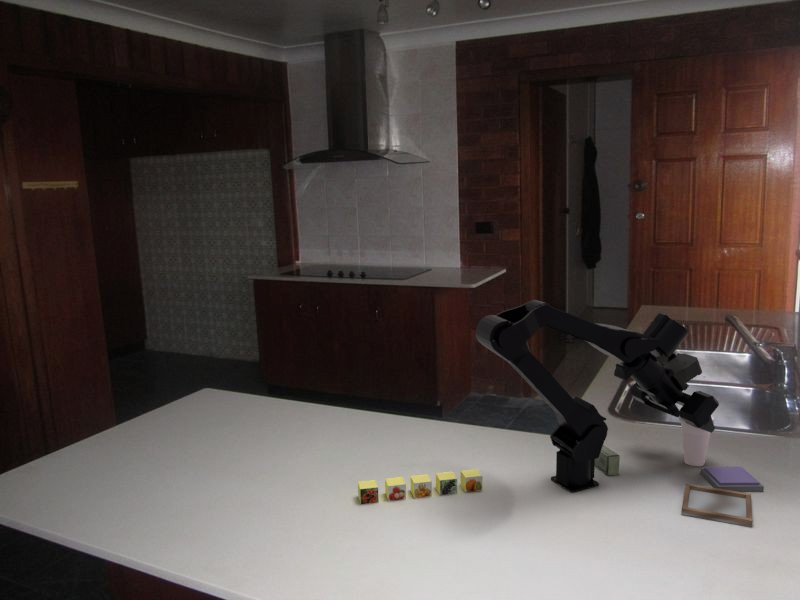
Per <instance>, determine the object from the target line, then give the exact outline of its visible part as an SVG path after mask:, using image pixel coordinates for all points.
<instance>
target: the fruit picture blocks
mask: <svg viewBox="0 0 800 600" xmlns="http://www.w3.org/2000/svg"><path fill="white" fill-rule="evenodd" d="M409 477H410V481H409V482H410V492H411V494H412V496H413V498H414V499H421V498H431V497H432V496H433V488H432V487H433V486H432V485H433V484H432V479H431V478H430V476H429V475H428V474H427V473H425V474H424V473H423V474H416V475H410V476H409ZM483 485H484V484H483V474H482V473H481V471H480V470H479V469H478V468H472V469H471V468H470V469H463V470H462V469H461V470H460V486H461V488H462V489H463V491H464V492H465V493H474V492H482V491H484V490H483ZM384 489H385V490H384V491H385V496H386V498H387V501H388V502H394V501H404V500H407V484H406V482H405V479H404V478H403V476H397V477H390V478H389V477H387V478H384ZM435 489H436V490H437V492H438V494H439V495H440V496H449V495H456V494H458V477H457V475H456V474H455V473H454V472H453V471H446V472H445V471H444V472H436V473H435ZM357 497H358V500H359V503H360V505H369V504H370V505H371V504H377V503H379V497H380V496H379V486H378V482H377V480H376V479H370V480H361V481H360V480H359V481H357Z"/></svg>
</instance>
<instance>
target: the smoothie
mask: <svg viewBox="0 0 800 600" xmlns="http://www.w3.org/2000/svg"><path fill="white" fill-rule="evenodd" d="M711 418H712V421H713V424H714V425H715V418H714V415H713V414H712V415H711ZM678 420H679V422H680V429H681V438H682V452H683V462H684V463H685V464H687V465H688V466H692V467H702V466H704V465H705V463H706V458H707V453H708V448H709V447H708V446H709V442H710V437H711V432H708V431H705V430H702V429H699V428H696V427H693V426H691V425H689V424H687V423H685V421H684V420H682V419H681V417H680V415H679V417H678Z"/></svg>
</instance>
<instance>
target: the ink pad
mask: <svg viewBox="0 0 800 600" xmlns="http://www.w3.org/2000/svg"><path fill="white" fill-rule="evenodd" d="M699 471H700V472H699V474H701V476H702V477H703V478H704V479H705V480H706V481H707V482H708V483H709V484H710V485H711V487H712V488H718V489H725V490H731V491H737V492H743V493H749V492H751V493H753V492H755V493H756V492H759V493H760V492H762V493H763V492H764V491H765V490H764V488H765V487H764V485H763V484H761V482H760V481H758V480H757V479H756V478H755V477H754V476H753V475H752V474H751V473H749V471H747V469H745V468H744V467H743V466H704V467H700V470H699Z"/></svg>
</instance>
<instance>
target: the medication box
mask: <svg viewBox="0 0 800 600" xmlns="http://www.w3.org/2000/svg"><path fill="white" fill-rule="evenodd" d="M620 460H621V455H619V454H618V453H616V452H615V451H614V450H612V449H611V448H609V447H608V446H606V445H605V444H603V446H602V449H601V452H600V455H599V458H597V459H595V469H598V470H599V471H600V472H602V473H603V474H604V475H605V476H609V477H610V476H615V475H617V476H618V475H619V473H620Z"/></svg>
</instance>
